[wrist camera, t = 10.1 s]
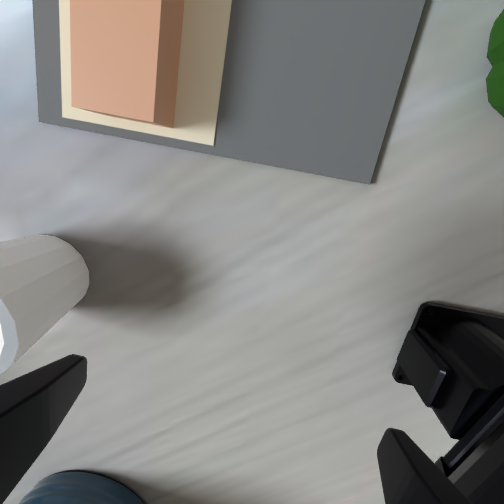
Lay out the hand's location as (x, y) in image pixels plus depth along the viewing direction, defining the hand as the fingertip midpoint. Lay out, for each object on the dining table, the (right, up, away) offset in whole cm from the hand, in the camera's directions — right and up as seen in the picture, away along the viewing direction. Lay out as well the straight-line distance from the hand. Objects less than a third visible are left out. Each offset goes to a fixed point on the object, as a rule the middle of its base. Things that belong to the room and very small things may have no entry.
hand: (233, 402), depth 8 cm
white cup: (-14, +3, +12) cm, 19 cm away
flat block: (-5, +16, +7) cm, 18 cm away
